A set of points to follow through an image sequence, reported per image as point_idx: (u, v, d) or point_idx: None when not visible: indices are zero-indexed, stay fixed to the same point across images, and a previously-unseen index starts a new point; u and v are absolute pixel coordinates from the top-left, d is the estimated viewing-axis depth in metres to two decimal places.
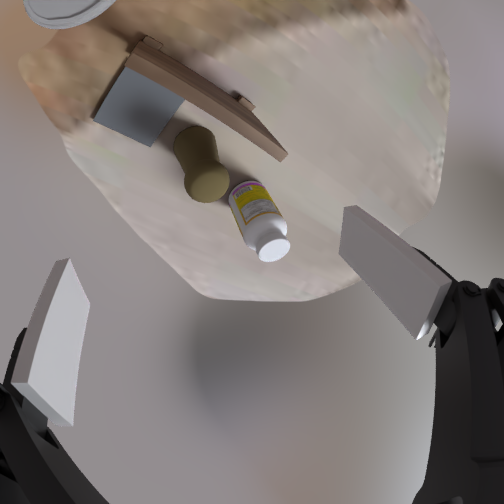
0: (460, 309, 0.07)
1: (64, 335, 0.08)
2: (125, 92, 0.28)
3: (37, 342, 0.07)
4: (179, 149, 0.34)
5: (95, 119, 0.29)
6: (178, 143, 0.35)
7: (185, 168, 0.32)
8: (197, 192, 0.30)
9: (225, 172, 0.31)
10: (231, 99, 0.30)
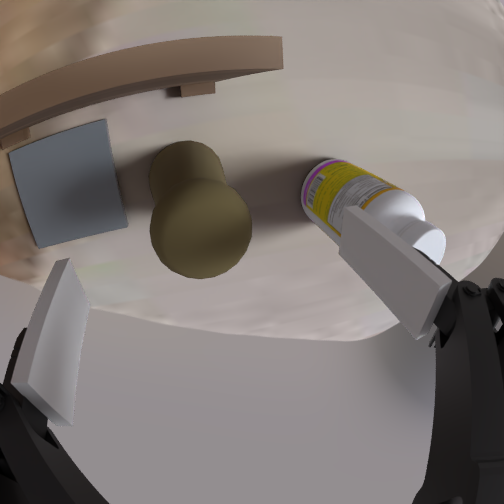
0: (460, 309, 0.07)
1: (64, 335, 0.08)
2: (37, 190, 0.17)
3: (37, 342, 0.07)
4: None
5: (39, 245, 0.20)
6: None
7: None
8: (189, 266, 0.13)
9: (211, 189, 0.13)
10: None
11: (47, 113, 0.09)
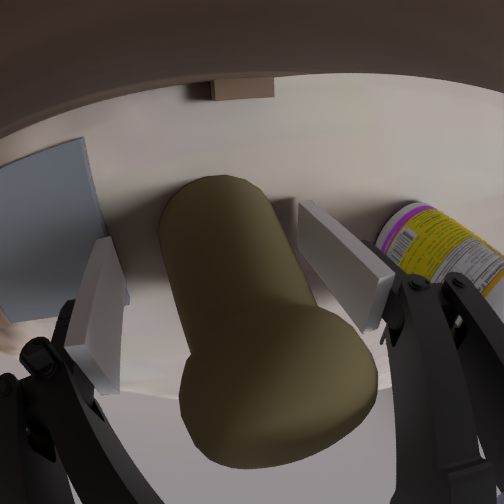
0: (407, 306, 0.08)
1: (110, 306, 0.10)
2: None
3: (91, 308, 0.08)
4: None
5: (11, 319, 0.13)
6: None
7: None
8: (263, 467, 0.06)
9: (329, 364, 0.05)
10: None
11: None
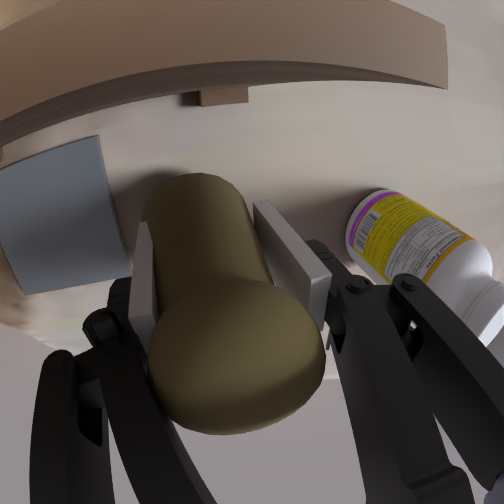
0: (346, 312, 0.08)
1: None
2: (16, 227, 0.13)
3: (151, 281, 0.09)
4: None
5: (25, 292, 0.15)
6: None
7: None
8: (223, 432, 0.07)
9: (263, 327, 0.06)
10: None
11: None
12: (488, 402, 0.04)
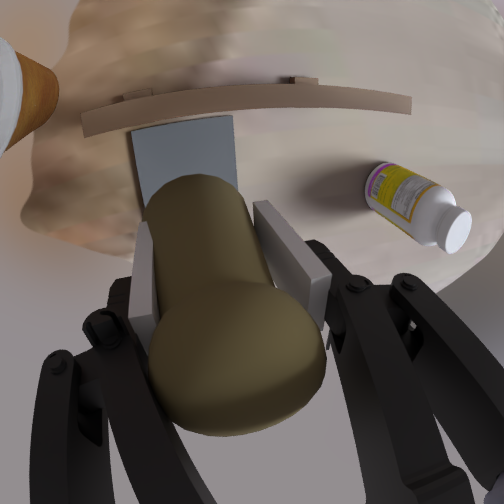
0: (346, 312, 0.08)
1: None
2: (159, 168, 0.24)
3: (151, 281, 0.09)
4: None
5: None
6: None
7: None
8: (224, 434, 0.07)
9: (264, 329, 0.06)
10: None
11: None
12: (488, 402, 0.04)
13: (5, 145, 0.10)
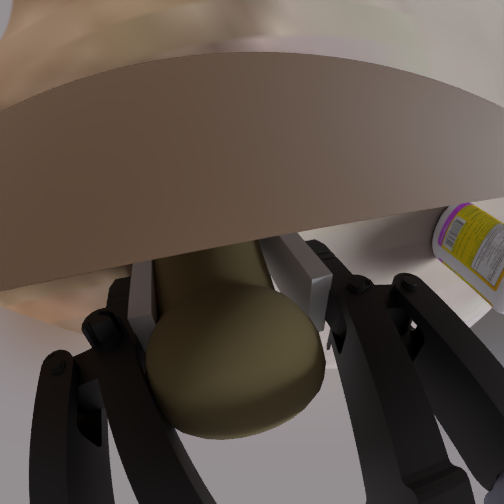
0: (347, 312, 0.08)
1: None
2: None
3: (150, 281, 0.09)
4: None
5: None
6: None
7: None
8: (221, 437, 0.07)
9: (261, 333, 0.06)
10: None
11: None
12: (489, 402, 0.04)
13: None
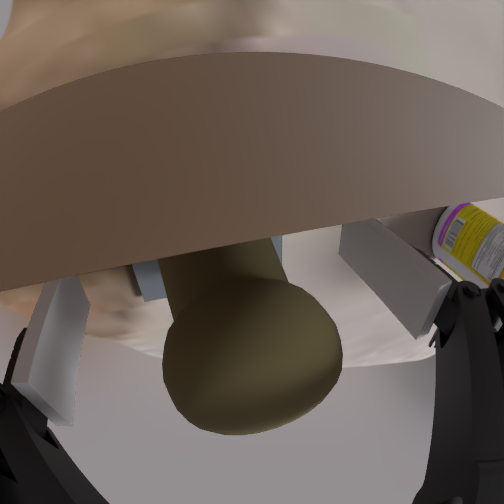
0: (460, 308, 0.07)
1: (64, 335, 0.08)
2: None
3: (37, 342, 0.07)
4: None
5: (146, 297, 0.17)
6: None
7: None
8: (240, 432, 0.07)
9: (284, 325, 0.06)
10: None
11: None
12: None
13: None
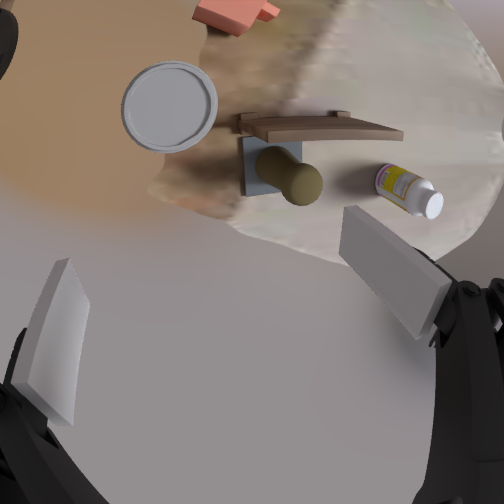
0: (460, 309, 0.07)
1: (64, 335, 0.08)
2: None
3: (37, 342, 0.07)
4: (264, 177, 0.38)
5: (247, 194, 0.42)
6: (260, 173, 0.39)
7: (279, 187, 0.36)
8: (300, 198, 0.32)
9: (309, 167, 0.31)
10: (334, 118, 0.36)
11: None
12: None
13: (203, 136, 0.26)
